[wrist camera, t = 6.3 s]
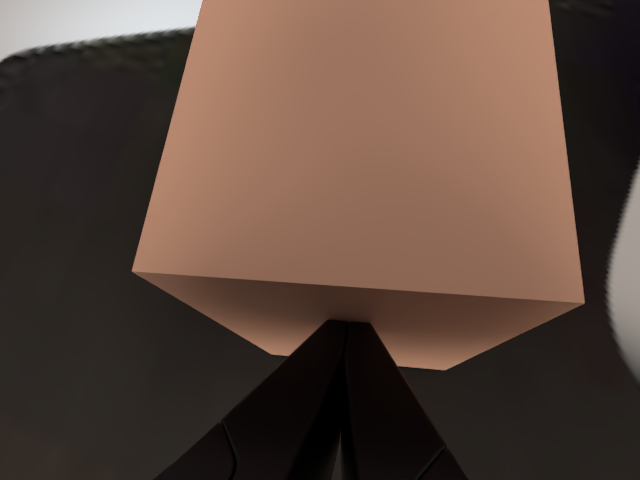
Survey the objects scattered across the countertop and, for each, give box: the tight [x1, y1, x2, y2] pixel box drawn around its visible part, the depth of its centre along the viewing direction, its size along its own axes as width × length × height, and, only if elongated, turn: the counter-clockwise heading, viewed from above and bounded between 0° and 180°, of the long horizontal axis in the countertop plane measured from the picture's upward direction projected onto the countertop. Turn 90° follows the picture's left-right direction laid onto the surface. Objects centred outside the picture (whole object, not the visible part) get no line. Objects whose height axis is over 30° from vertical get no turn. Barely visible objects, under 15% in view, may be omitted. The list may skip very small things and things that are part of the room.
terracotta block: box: [132, 0, 585, 370], centre depth 11 cm, size 6×6×10 cm
